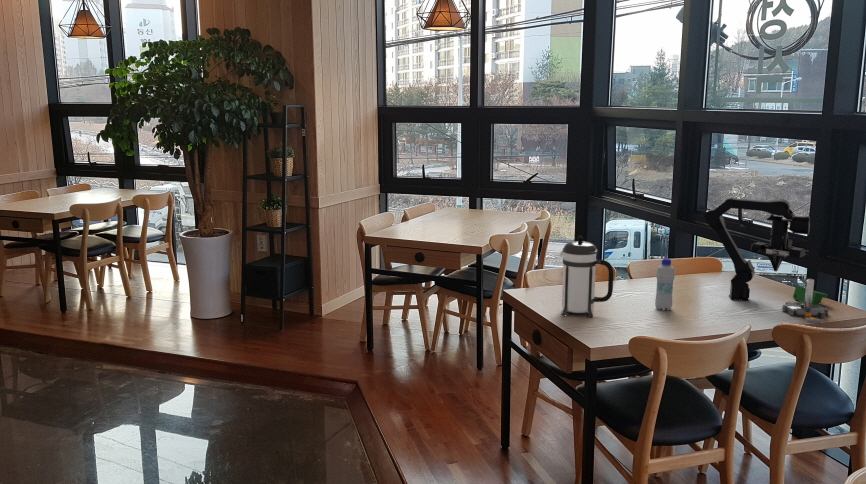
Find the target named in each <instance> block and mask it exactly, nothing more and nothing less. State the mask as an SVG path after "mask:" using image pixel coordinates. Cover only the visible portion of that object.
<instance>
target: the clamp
mask: <svg viewBox="0 0 866 484" xmlns="http://www.w3.org/2000/svg"><path fill="white" fill-rule="evenodd" d="M805 292H806V286H801V285H795V289H794V292H793V295H792V298H793V299H794V300H795V301H797V302H805ZM827 297H828V294H827V293H825V292H824V293H823V292H821V291H820V292H819V291H816V290H815V289H813V296H812V304H818V305H820V304H821V303H822V300H823V298H824V299H827ZM819 303H820V304H819Z"/></svg>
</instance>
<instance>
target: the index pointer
mask: <svg viewBox="0 0 866 484" xmlns="http://www.w3.org/2000/svg"><path fill="white" fill-rule="evenodd" d="M804 320H805V321H806V322H807V323H813V324H815V323H816V324H819V323H821V320H820V318H819V317H816V318H813V317H810V318H805V317H804Z"/></svg>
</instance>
